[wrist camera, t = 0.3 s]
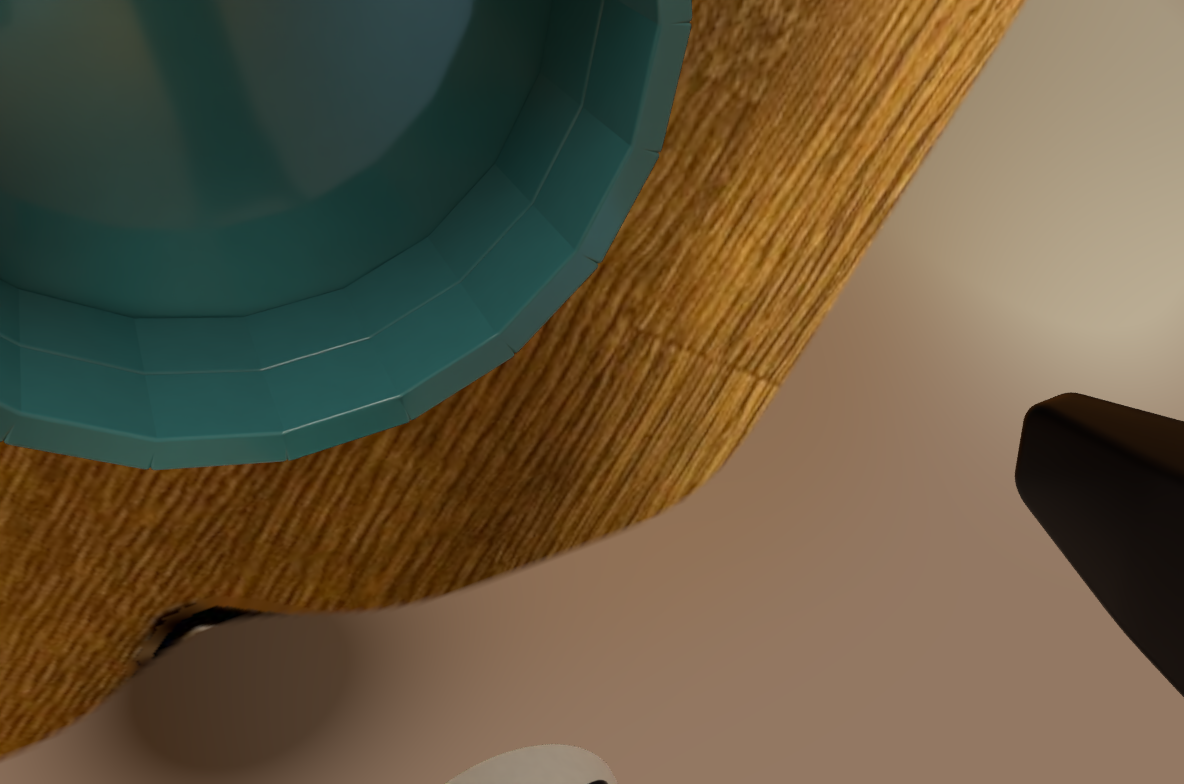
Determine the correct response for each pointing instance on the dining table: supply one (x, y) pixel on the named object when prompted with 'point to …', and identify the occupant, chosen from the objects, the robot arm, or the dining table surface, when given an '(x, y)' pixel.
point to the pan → (301, 208)
